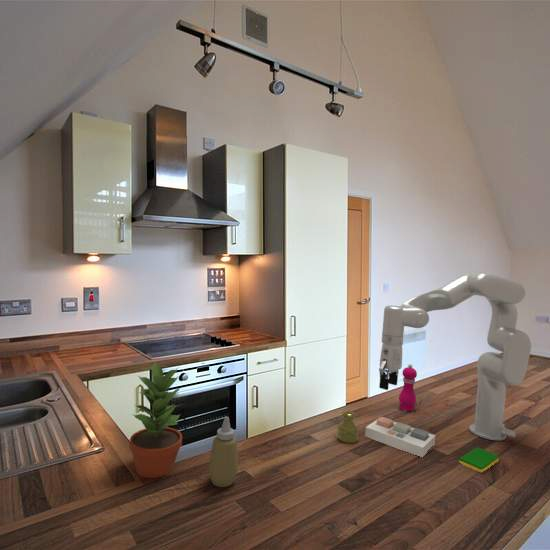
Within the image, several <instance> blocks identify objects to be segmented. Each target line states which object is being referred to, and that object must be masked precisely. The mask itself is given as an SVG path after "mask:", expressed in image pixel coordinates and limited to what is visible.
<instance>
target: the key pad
mask: <svg viewBox="0 0 550 550" xmlns="http://www.w3.org/2000/svg"><path fill="white" fill-rule="evenodd" d="M377 420H378V419H376V420H374V421H373V422H372V423H370V424H368V425H367V426H365V431H364V437H365V438H368V439H370V440H373V441H376V442H379V443H382V444H384V445H387V446H389V447H392V448H394V449H397V450H400V451H402V450H403V452H405V451H406V452H405V453H407V452H409V453H408V454H410V453H411V455H413V454H414V455H413V456H415V455H417V456H416V457H418V456H420V457H419V458H421V457H422V458H423V457H425V455H427V453H428V452H429V451H430V450H431V449H432V448H433V447H434V446H435V445H436V444H435V443H436V435H435V434H432V433H430V432H429V435H428V439H427V440H425V441H423V440H420V439H417V438H414V437H411V431H412V430H414V429H415V428H416V427H411V430H410V432H409V433H408V434H407V435H405V434H403V433H400V432H397V431H394V430H393V426H394V425H395V424H397V423H398V422H396V421H394V424H393V426H392V427H391V428H389V429H388V428H385V427H382V426H380V425H377ZM432 446H433V447H432ZM431 447H432V448H431ZM430 448H431V449H430ZM429 449H430V450H429ZM428 450H429V451H428ZM427 451H428V452H427Z"/></svg>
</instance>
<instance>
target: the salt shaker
mask: <svg viewBox="0 0 550 550" xmlns="http://www.w3.org/2000/svg"><path fill="white" fill-rule="evenodd" d="M341 415H342V417H344V420H342V421H341V422H339V423H338V424H337V431H336V439H337V440H338V441H340V442H343V443H348V444H353V443H357V442H358V438H359V434H358V432H359V430H360V429H359V426H358V425H357V424H355V422H354V421H353V420H354V419H355V418H357V414H356V413H355V412H353V410H350V409H349V410H345V411H342V413H341Z"/></svg>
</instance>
